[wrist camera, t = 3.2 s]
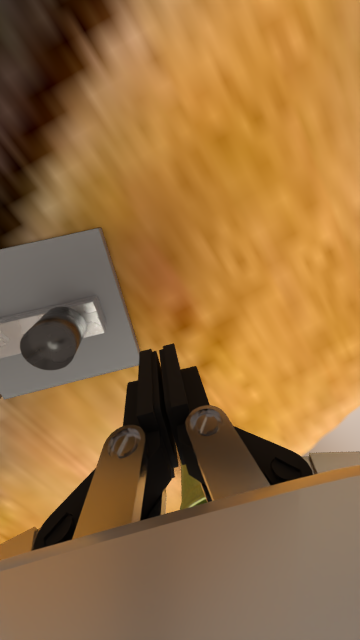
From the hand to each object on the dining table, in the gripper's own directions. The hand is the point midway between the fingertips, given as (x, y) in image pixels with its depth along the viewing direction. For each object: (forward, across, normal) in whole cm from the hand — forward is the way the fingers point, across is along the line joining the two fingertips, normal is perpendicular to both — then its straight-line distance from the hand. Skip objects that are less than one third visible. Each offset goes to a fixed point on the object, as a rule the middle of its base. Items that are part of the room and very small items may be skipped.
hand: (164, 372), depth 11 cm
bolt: (+12, +11, 0) cm, 17 cm away
